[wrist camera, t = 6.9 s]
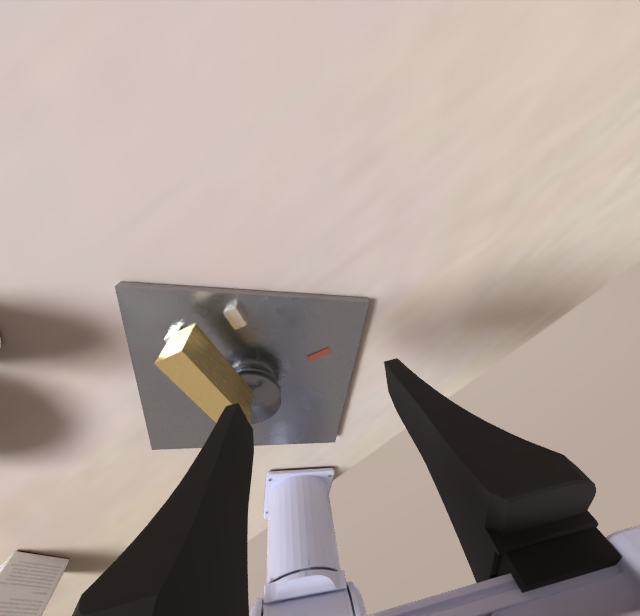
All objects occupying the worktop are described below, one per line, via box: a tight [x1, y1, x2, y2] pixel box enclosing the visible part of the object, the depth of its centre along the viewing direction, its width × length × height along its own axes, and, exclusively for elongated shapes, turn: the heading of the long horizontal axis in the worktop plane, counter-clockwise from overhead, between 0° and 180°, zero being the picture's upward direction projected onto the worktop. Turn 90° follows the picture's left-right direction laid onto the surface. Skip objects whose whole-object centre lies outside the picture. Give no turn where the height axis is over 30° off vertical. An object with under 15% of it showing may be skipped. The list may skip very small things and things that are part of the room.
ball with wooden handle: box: [154, 323, 281, 424], centre depth 19 cm, size 11×5×4 cm, turn 24°
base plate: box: [115, 282, 370, 450], centre depth 23 cm, size 17×18×2 cm
